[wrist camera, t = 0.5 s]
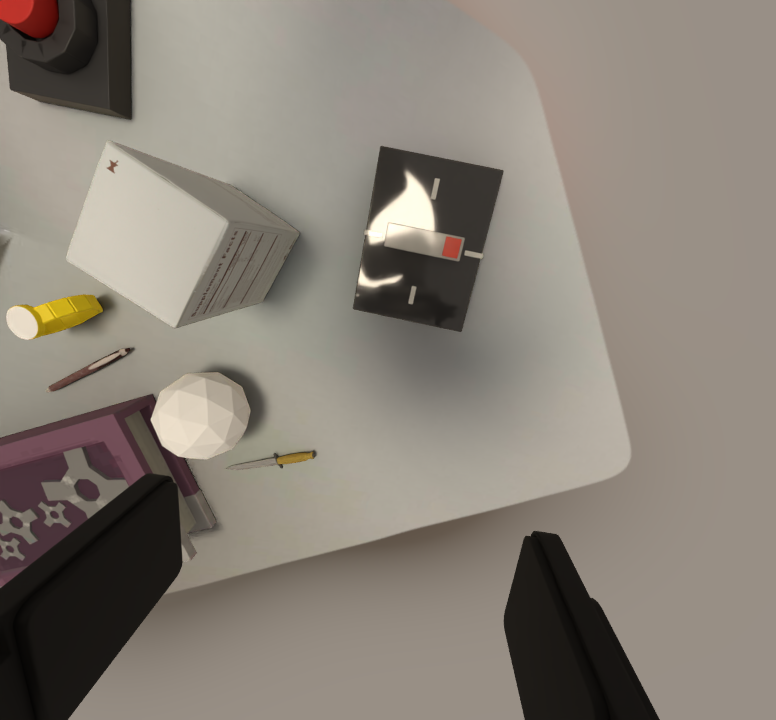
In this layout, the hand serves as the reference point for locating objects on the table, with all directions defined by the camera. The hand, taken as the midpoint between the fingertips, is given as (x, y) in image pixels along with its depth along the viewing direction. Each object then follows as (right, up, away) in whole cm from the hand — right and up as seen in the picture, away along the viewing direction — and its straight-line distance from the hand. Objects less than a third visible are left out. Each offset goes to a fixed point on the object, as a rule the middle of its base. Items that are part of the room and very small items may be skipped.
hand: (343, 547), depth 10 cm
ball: (-15, +1, +26) cm, 30 cm away
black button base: (-23, +30, +19) cm, 42 cm away
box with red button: (+4, +14, +18) cm, 23 cm away
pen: (-29, +4, +27) cm, 39 cm away
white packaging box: (-11, +15, +22) cm, 29 cm away
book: (-32, -9, +31) cm, 46 cm away
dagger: (-11, -6, +28) cm, 31 cm away
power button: (-23, +29, +15) cm, 40 cm away
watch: (-28, +10, +25) cm, 39 cm away
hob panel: (+4, +15, +21) cm, 26 cm away
